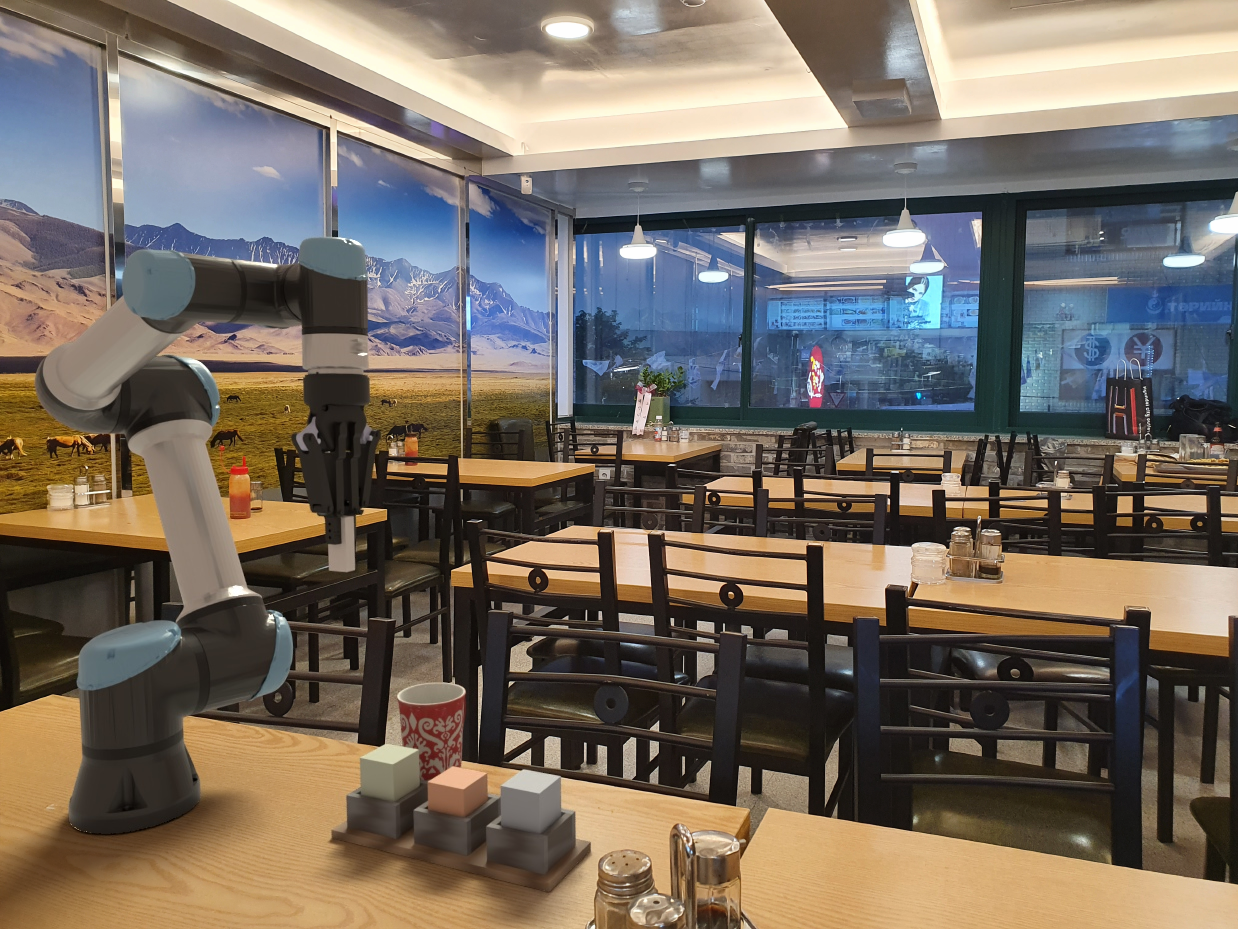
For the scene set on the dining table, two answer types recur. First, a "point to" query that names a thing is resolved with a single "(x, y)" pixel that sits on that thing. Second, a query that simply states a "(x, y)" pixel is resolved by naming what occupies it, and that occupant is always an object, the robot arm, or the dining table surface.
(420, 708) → the mug
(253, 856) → the dining table surface
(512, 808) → the slate button
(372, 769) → the sage button
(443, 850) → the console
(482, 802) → the terracotta button
